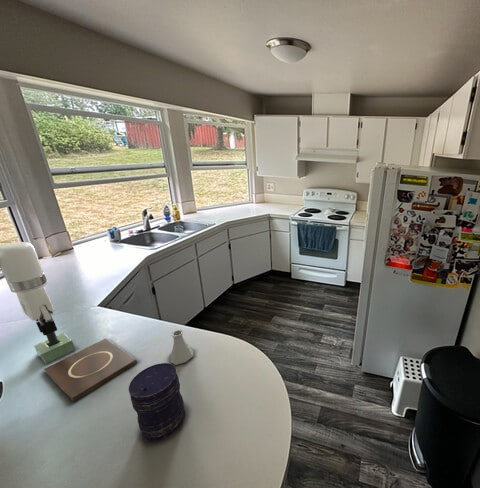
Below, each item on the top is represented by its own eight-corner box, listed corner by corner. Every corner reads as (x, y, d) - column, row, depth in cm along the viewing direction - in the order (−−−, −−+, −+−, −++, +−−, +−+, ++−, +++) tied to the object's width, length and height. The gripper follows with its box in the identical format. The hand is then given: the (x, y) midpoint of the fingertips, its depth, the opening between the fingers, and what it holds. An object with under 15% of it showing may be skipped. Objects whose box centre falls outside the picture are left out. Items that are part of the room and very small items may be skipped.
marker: (52, 349, 84) (40, 319, 79) (50, 347, 84) (37, 317, 80) (61, 345, 85) (49, 316, 81) (58, 343, 86) (46, 314, 82)
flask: (189, 345, 90) (185, 323, 87) (196, 357, 86) (192, 333, 82) (167, 356, 86) (161, 332, 82) (173, 368, 81) (167, 343, 77)
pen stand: (46, 363, 81) (42, 354, 80) (38, 355, 84) (33, 345, 83) (75, 349, 87) (71, 340, 86) (66, 342, 90) (63, 333, 89)
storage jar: (158, 403, 70) (147, 361, 65) (193, 405, 70) (185, 363, 64) (131, 441, 60) (116, 396, 55) (171, 444, 60) (160, 399, 55)
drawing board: (73, 402, 69) (71, 397, 69) (45, 372, 78) (43, 368, 77) (137, 362, 83) (136, 358, 82) (107, 341, 91) (105, 337, 91)
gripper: (1, 280, 77) (23, 329, 83) (18, 295, 70) (42, 347, 76) (36, 271, 83) (54, 317, 89) (55, 283, 76) (74, 332, 82)
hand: (48, 331), depth 83 cm, fingers closed on marker, 2 cm apart
